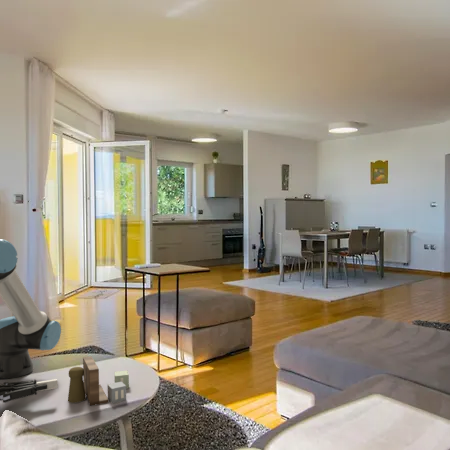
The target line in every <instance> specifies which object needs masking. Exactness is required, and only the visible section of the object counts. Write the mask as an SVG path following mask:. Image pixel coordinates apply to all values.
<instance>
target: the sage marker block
mask: <svg viewBox="0 0 450 450" xmlns="http://www.w3.org/2000/svg"><path fill="white" fill-rule="evenodd" d="M129 375H130V374H129V371H128V370H122V371H121V370H120V371H114V383H117V382H122V383H124V384H125V385H126V389H129V388H130V383H129V382H130V379H129V377H130V376H129Z"/></svg>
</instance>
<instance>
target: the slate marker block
mask: <svg viewBox="0 0 450 450" xmlns="http://www.w3.org/2000/svg"><path fill="white" fill-rule="evenodd" d="M107 398H108V401H109V402H110V403H111V404H115V403H120V402H123V401H127V388H126V385H125V384H124V383H122V382H117V383H115V382H113V383H112V382H111V383H107Z"/></svg>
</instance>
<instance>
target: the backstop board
mask: <svg viewBox="0 0 450 450" xmlns="http://www.w3.org/2000/svg"><path fill="white" fill-rule="evenodd" d="M82 364H83V365H82V368H83V369H84V375H83V382H84V389H85V395H86V399H87V401H88V403H89V406H91V407H92V406H97V405H101V404H107V403H109V399H108V395H107V394H106V392H105V390H104V389H103V387H102V385H101V384H100V371H99V370H100V369H99V367H98V365H97V363H96V361H95V359H94V358H93V356H91V355H90V356H84V357H82Z"/></svg>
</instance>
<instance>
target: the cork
mask: <svg viewBox="0 0 450 450" xmlns="http://www.w3.org/2000/svg"><path fill="white" fill-rule="evenodd" d="M83 375H84V369H83V366H82V367H81V366H75V367H71V368H70V369H69V371H68V377H69V378H70V380H69V386H68V387H69V388H68V395H67V397H68V398H67V402H68V403H72V404H73V403H74V404H76V403H81V402H83V401H86V399H87V397H86V394H85V389H84V379H83Z"/></svg>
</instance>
